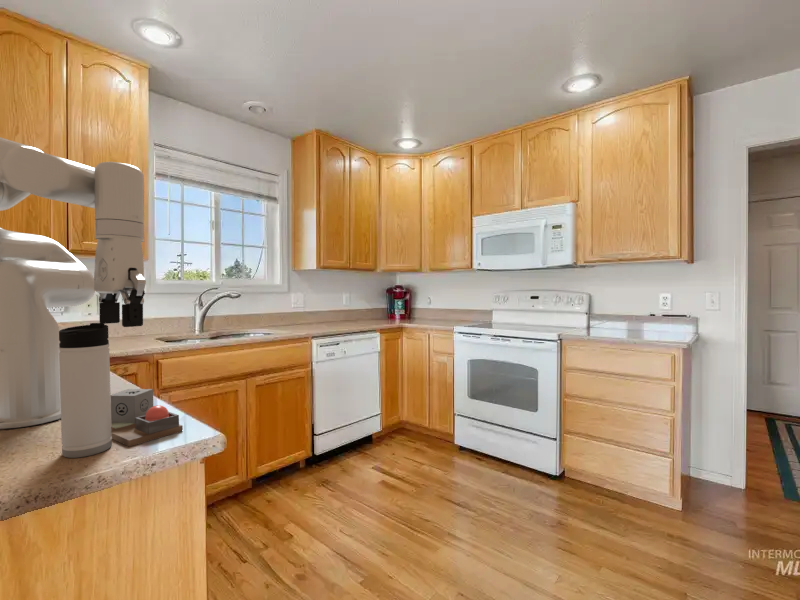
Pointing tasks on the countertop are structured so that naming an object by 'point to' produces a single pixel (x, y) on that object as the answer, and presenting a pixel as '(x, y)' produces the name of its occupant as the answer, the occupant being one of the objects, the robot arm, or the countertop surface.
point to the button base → (145, 429)
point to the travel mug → (85, 390)
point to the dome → (156, 413)
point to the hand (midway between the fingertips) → (120, 324)
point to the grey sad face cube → (130, 405)
